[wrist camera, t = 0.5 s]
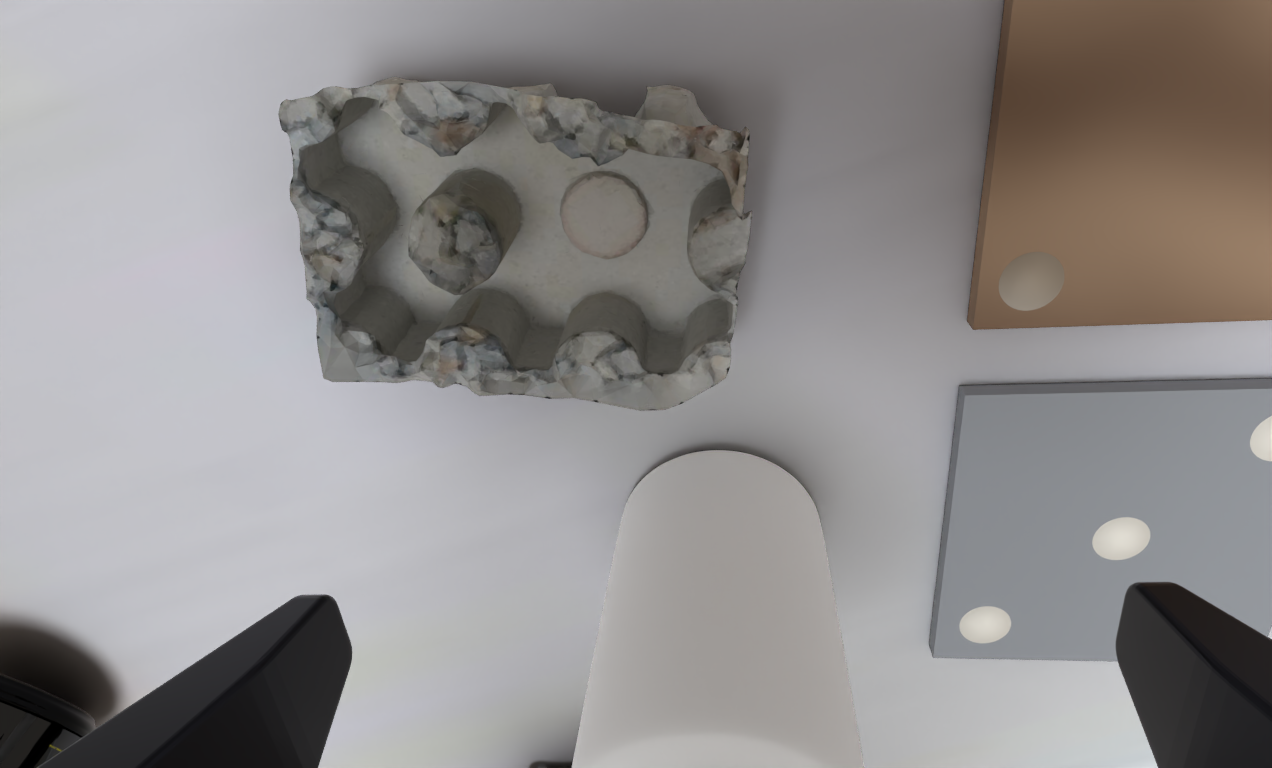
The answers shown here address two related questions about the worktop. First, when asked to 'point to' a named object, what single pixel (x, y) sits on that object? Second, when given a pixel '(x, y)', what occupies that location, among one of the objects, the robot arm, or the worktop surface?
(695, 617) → the can
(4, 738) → the supplement container
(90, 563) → the worktop surface
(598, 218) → the egg carton
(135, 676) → the worktop surface
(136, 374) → the worktop surface
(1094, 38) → the walnut mat
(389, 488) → the worktop surface
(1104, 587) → the slate mat
